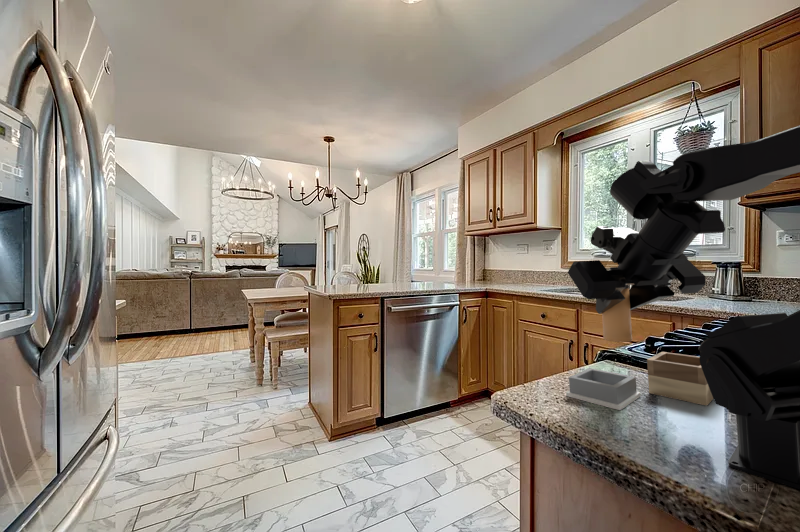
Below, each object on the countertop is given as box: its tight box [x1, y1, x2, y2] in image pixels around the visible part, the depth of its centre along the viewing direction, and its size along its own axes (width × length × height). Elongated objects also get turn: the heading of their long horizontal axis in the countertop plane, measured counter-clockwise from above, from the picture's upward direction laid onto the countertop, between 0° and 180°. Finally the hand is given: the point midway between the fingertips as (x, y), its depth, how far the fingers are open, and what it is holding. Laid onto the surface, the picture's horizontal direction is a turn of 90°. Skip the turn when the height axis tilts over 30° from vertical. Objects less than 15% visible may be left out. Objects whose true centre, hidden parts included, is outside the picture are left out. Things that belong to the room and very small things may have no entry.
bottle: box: [601, 285, 633, 343], centre depth 56 cm, size 4×4×10 cm
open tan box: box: [646, 351, 714, 406], centre depth 55 cm, size 7×7×6 cm
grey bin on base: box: [565, 367, 642, 411], centre depth 56 cm, size 8×8×3 cm
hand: (609, 310), depth 58 cm, fingers closed on bottle, 4 cm apart
